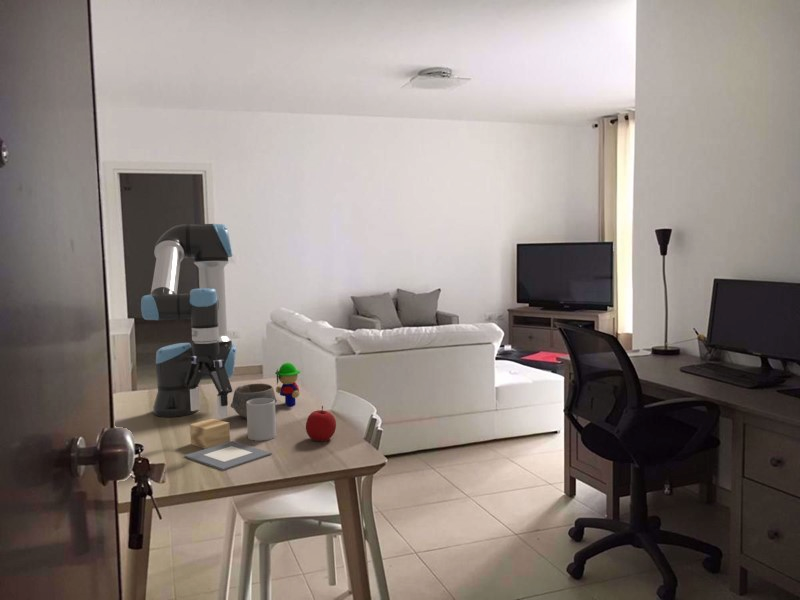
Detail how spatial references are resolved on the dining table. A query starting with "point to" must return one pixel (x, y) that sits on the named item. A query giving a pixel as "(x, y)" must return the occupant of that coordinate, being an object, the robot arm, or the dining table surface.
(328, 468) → the dining table surface
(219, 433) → the oak block
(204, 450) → the grey rectangular mat
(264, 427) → the mug
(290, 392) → the toy
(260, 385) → the bowl
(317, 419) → the apple
